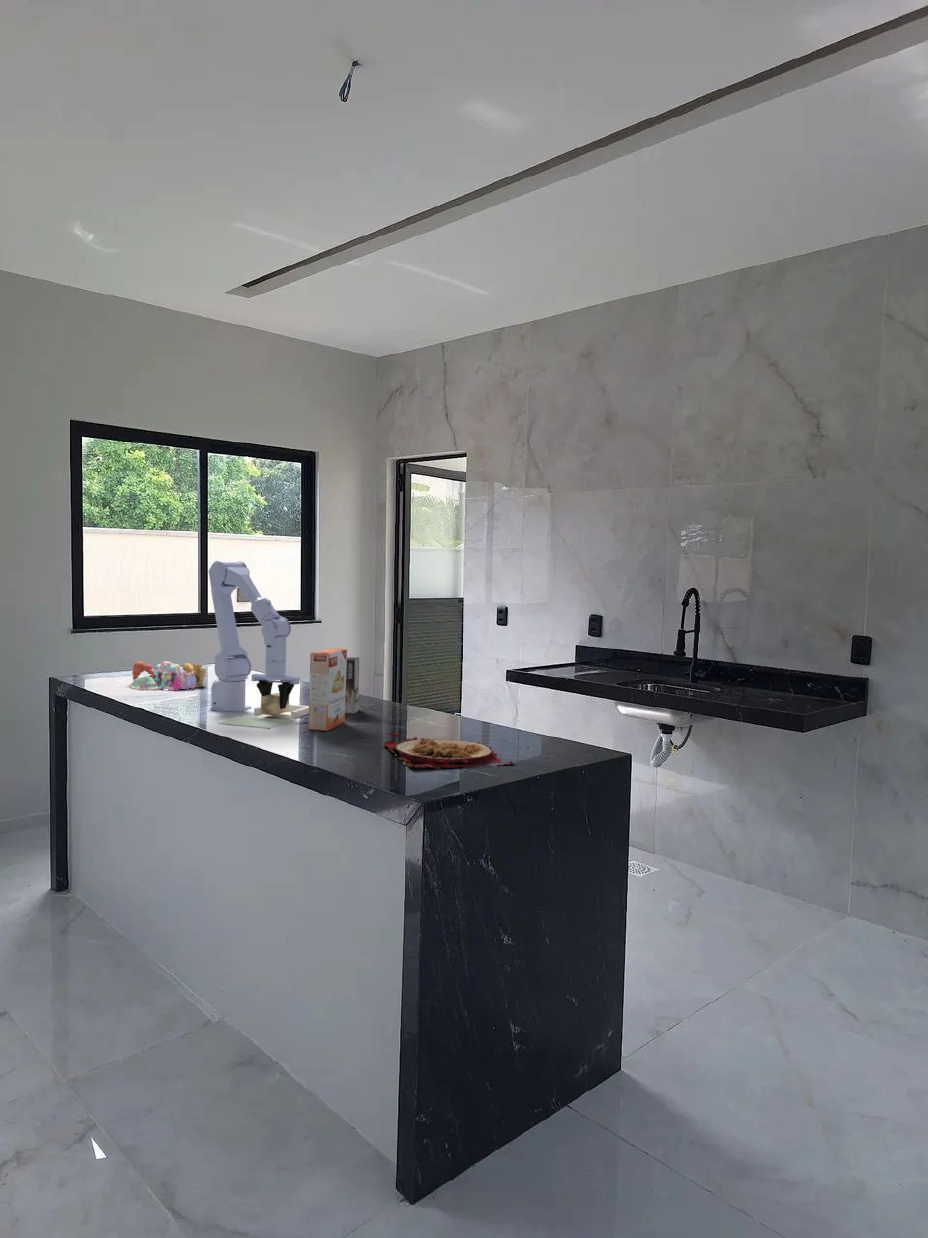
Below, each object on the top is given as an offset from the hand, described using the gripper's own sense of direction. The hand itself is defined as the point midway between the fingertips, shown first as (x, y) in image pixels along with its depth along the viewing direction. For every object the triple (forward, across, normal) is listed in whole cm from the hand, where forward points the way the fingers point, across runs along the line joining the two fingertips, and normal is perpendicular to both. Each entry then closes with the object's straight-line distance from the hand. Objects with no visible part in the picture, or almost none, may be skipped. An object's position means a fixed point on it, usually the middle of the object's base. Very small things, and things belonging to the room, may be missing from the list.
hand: (275, 707), depth 251 cm
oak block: (+1, 0, 0) cm, 1 cm away
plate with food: (+3, +61, -26) cm, 66 cm away
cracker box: (+3, +20, -6) cm, 21 cm away
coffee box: (+3, +13, +17) cm, 21 cm away
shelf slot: (+3, 0, +4) cm, 4 cm away
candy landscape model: (+3, -62, +35) cm, 71 cm away
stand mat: (+3, 0, -10) cm, 11 cm away
